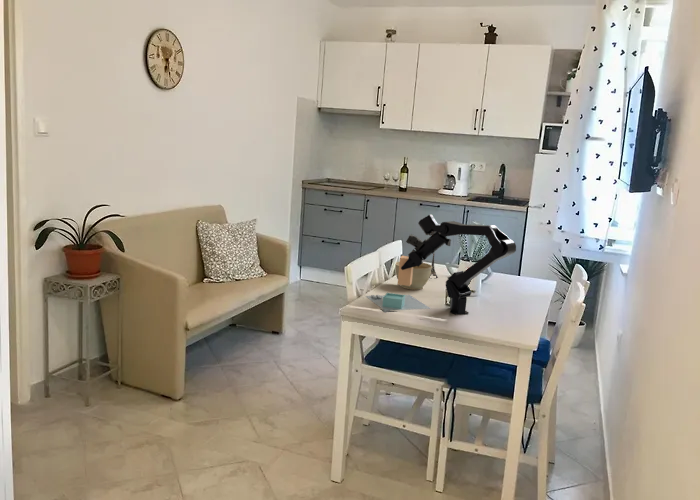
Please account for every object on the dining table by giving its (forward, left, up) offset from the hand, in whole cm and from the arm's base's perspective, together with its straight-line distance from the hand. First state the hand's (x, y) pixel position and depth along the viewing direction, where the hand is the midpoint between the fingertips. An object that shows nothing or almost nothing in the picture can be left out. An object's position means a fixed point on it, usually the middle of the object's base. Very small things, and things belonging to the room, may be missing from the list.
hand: (402, 267), depth 250 cm
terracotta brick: (-1, -1, -7) cm, 7 cm away
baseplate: (-6, +4, -14) cm, 15 cm away
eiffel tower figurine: (+37, -33, -14) cm, 52 cm away
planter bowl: (+17, -13, -14) cm, 26 cm away
